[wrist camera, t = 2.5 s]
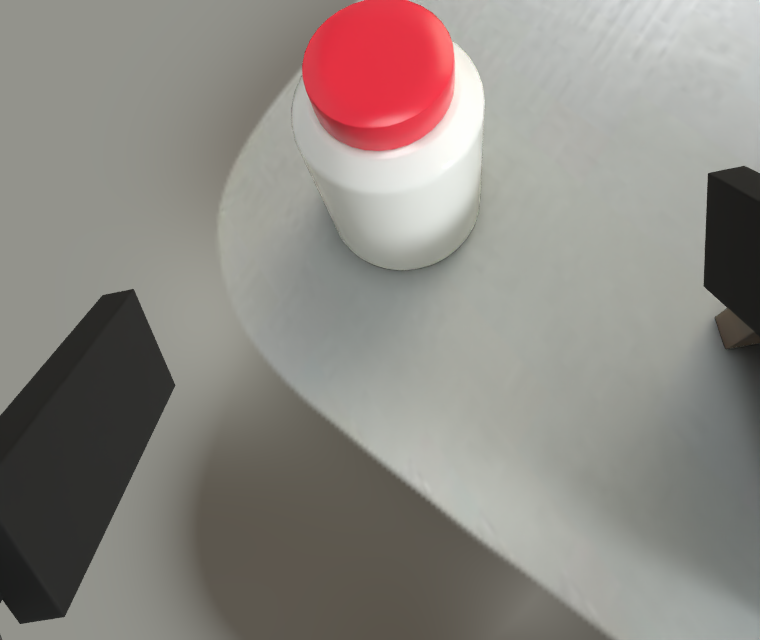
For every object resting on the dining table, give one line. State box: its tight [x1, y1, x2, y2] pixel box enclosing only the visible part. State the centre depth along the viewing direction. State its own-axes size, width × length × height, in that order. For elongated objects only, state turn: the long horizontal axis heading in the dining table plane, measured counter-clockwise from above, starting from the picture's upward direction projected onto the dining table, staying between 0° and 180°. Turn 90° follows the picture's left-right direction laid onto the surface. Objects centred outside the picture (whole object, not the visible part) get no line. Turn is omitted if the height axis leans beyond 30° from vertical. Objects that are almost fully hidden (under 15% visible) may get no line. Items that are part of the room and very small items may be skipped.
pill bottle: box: [291, 0, 485, 270], centre depth 28 cm, size 8×8×11 cm
